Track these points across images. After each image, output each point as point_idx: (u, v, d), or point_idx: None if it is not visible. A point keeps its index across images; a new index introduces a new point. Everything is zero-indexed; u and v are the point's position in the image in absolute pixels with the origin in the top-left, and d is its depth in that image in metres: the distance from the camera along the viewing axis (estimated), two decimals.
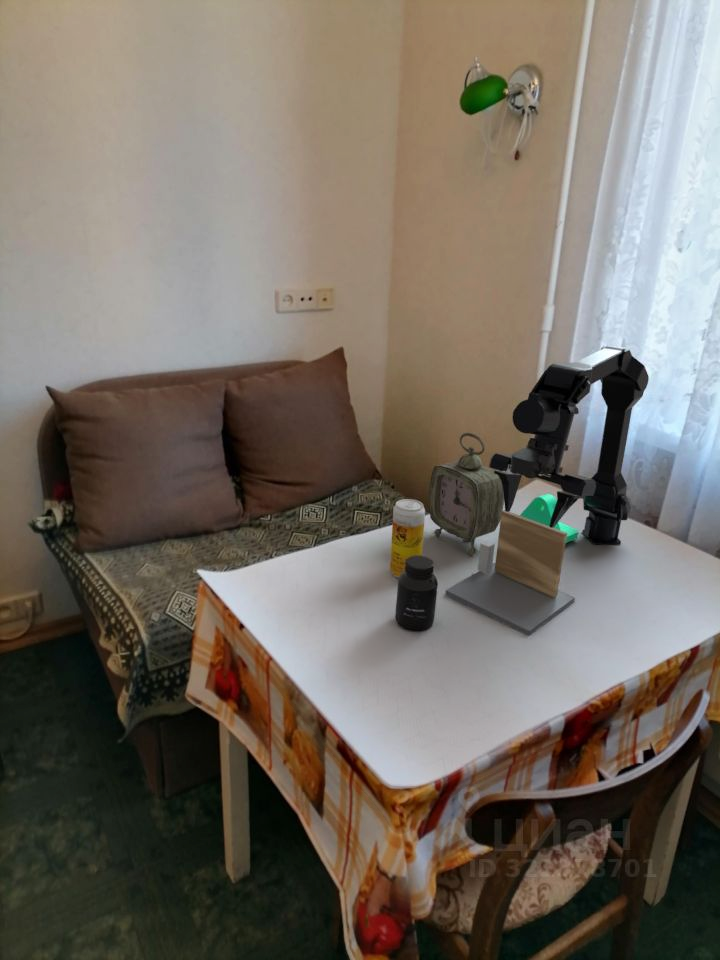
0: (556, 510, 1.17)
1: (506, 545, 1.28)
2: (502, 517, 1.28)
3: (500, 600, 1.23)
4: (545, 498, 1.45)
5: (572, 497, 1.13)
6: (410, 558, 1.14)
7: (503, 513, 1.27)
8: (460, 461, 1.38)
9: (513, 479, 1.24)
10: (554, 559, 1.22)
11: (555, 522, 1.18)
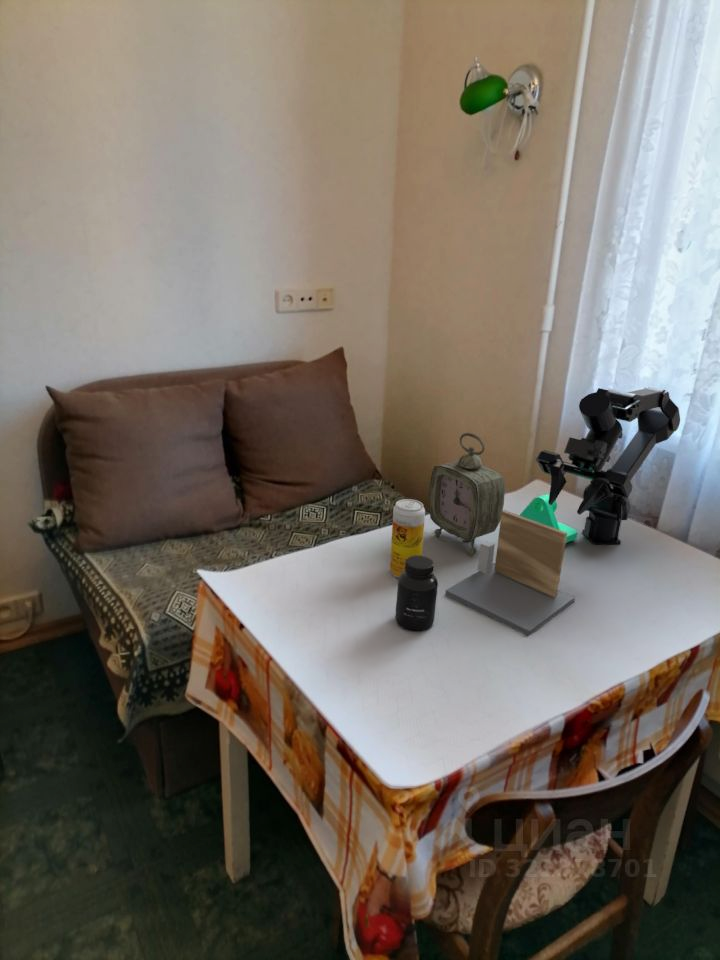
0: (587, 497, 1.29)
1: (506, 545, 1.28)
2: (502, 517, 1.28)
3: (500, 600, 1.23)
4: (544, 498, 1.45)
5: (606, 483, 1.27)
6: (410, 558, 1.14)
7: (503, 513, 1.27)
8: (460, 461, 1.38)
9: (561, 478, 1.35)
10: (554, 559, 1.22)
11: (583, 509, 1.29)
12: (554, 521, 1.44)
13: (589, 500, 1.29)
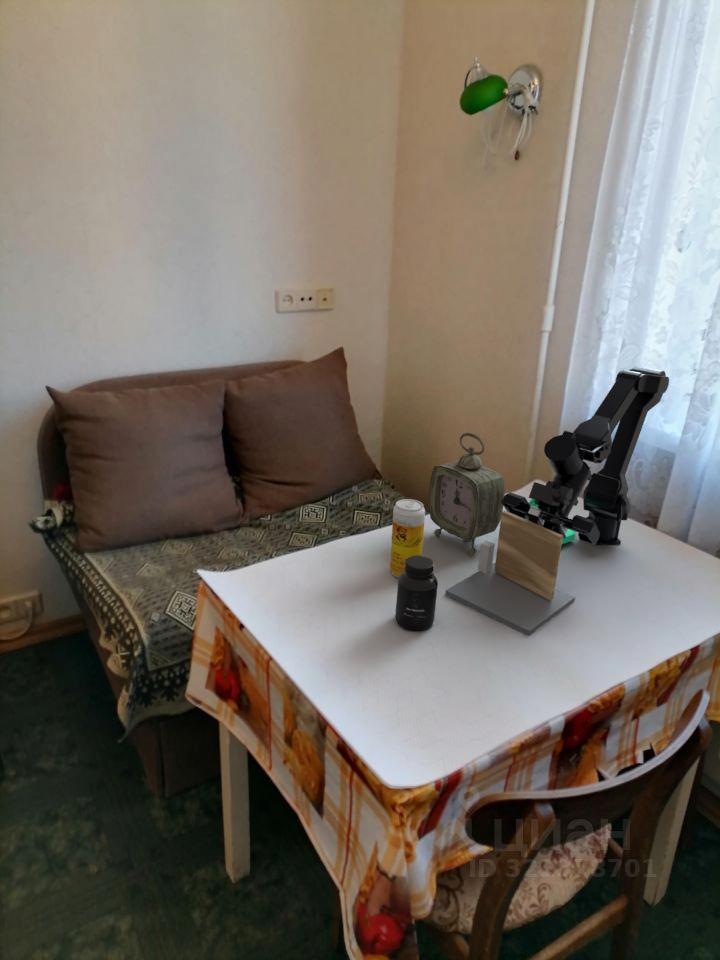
0: None
1: (505, 545, 1.28)
2: (502, 517, 1.27)
3: (500, 600, 1.23)
4: None
5: (558, 526, 1.23)
6: (410, 558, 1.14)
7: (503, 513, 1.27)
8: (460, 461, 1.38)
9: None
10: (549, 561, 1.21)
11: None
12: None
13: None
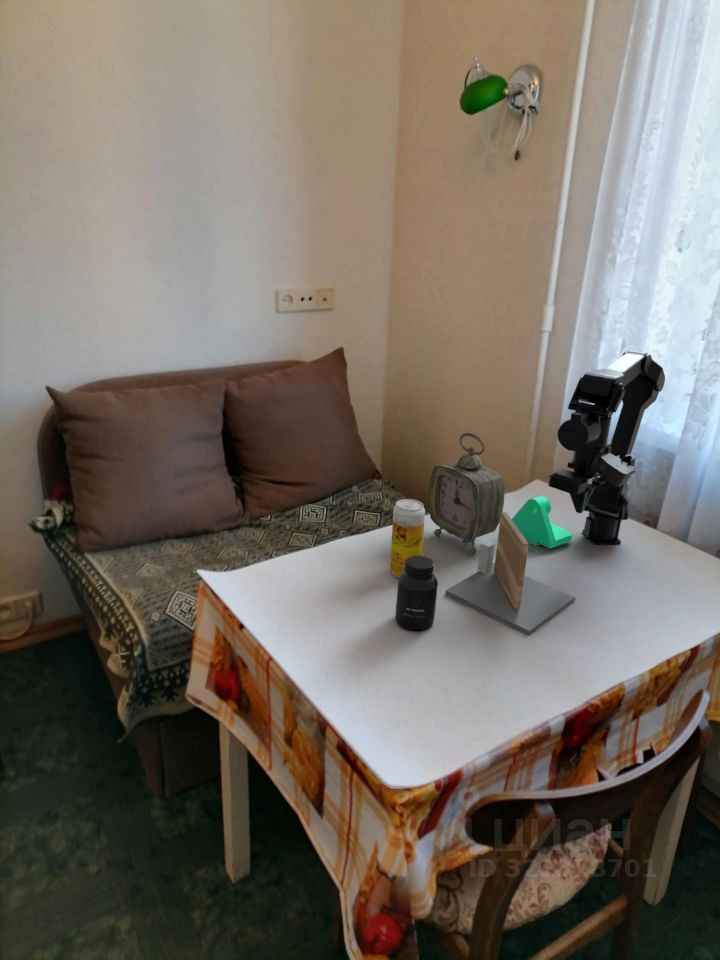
0: (588, 497, 1.32)
1: (500, 547, 1.28)
2: (500, 518, 1.27)
3: (500, 600, 1.23)
4: (538, 500, 1.44)
5: None
6: (410, 558, 1.14)
7: (501, 514, 1.27)
8: (460, 461, 1.38)
9: None
10: (517, 568, 1.18)
11: None
12: (548, 523, 1.43)
13: None
